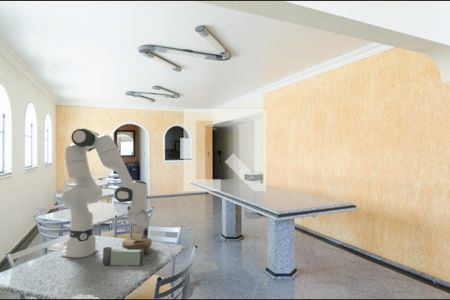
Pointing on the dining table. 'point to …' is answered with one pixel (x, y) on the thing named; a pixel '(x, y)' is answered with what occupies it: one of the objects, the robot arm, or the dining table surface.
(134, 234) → the birch block
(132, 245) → the stool
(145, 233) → the coffee box
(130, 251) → the green rectangular block
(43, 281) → the dining table surface
